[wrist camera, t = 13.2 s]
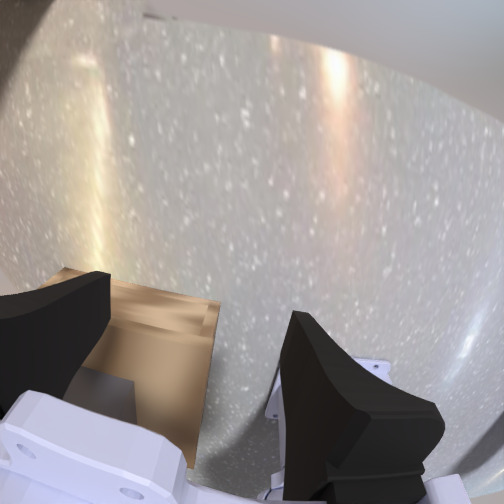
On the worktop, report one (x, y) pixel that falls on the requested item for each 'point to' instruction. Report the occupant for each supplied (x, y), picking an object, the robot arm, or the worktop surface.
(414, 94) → the worktop surface
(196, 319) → the box
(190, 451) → the wooden tan block
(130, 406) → the grey upright cuboid
